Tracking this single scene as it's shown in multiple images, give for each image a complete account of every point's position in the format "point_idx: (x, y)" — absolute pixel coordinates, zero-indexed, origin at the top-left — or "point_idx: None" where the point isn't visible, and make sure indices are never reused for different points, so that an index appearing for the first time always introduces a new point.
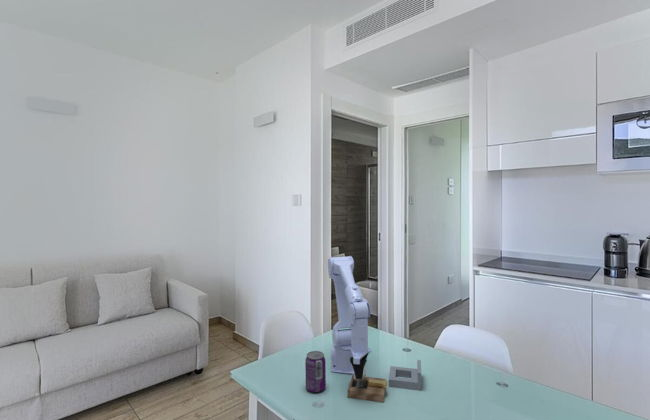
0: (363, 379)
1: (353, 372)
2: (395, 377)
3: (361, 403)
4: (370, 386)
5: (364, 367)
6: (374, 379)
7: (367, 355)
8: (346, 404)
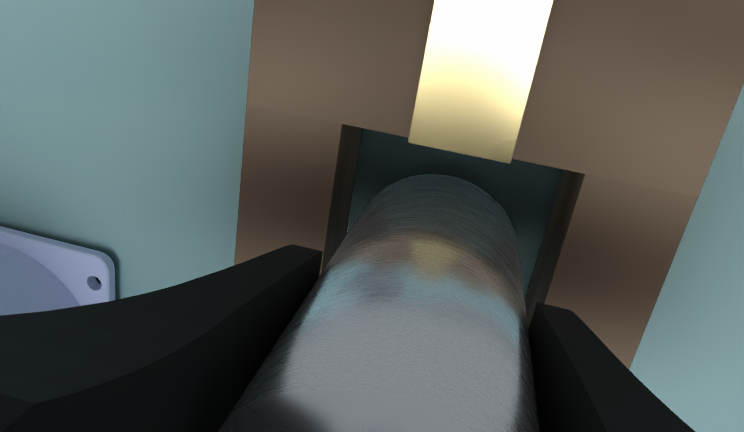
0: (508, 257)
1: (91, 272)
2: None
3: (733, 229)
4: None
5: (491, 360)
6: (301, 28)
7: (98, 396)
8: (729, 393)
